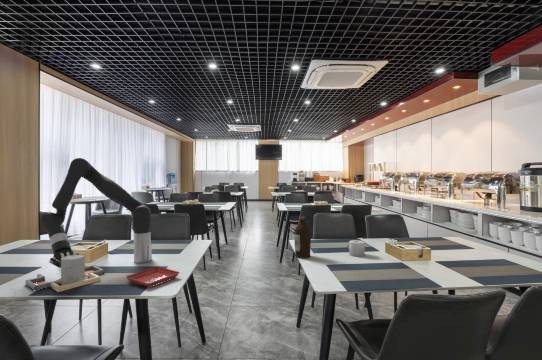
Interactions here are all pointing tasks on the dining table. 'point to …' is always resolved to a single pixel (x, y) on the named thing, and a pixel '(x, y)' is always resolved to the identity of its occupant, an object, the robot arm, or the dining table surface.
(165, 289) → the dining table surface
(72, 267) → the grey concrete cylinder
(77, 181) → the robot arm
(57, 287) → the two-trap box
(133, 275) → the plant saucer
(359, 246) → the toilet tissue
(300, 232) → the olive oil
